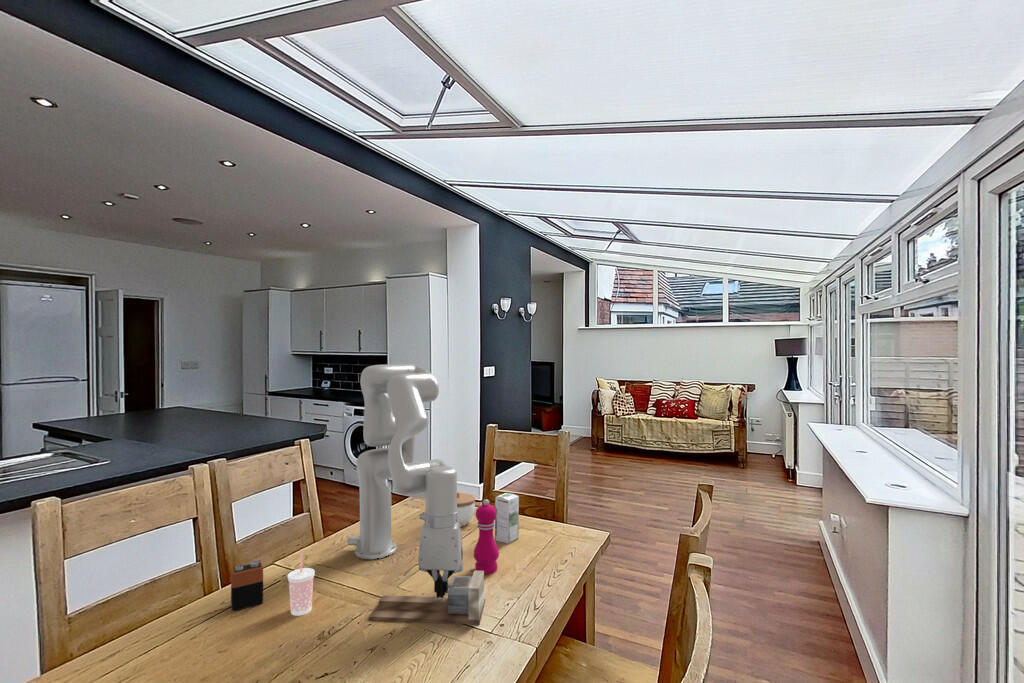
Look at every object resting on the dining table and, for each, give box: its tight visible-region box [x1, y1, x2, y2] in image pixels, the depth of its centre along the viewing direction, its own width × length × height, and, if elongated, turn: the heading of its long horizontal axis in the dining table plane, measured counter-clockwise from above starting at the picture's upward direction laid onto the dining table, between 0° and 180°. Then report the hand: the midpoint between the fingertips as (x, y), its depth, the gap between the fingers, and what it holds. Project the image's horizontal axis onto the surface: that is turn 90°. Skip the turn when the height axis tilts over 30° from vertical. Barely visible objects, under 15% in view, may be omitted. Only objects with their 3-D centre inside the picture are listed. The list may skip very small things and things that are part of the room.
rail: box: [368, 570, 486, 625], centre depth 120 cm, size 26×10×8 cm, turn 86°
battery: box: [230, 560, 264, 611], centre depth 124 cm, size 4×7×10 cm, turn 123°
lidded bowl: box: [457, 491, 476, 525], centre depth 179 cm, size 13×13×11 cm
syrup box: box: [494, 492, 520, 544], centre depth 164 cm, size 6×6×14 cm
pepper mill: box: [473, 499, 500, 575], centre depth 142 cm, size 7×7×20 cm
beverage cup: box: [287, 552, 316, 617], centre depth 121 cm, size 6×6×14 cm
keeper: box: [447, 575, 473, 615], centre depth 120 cm, size 5×6×6 cm
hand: (441, 594), depth 120 cm, fingers closed
